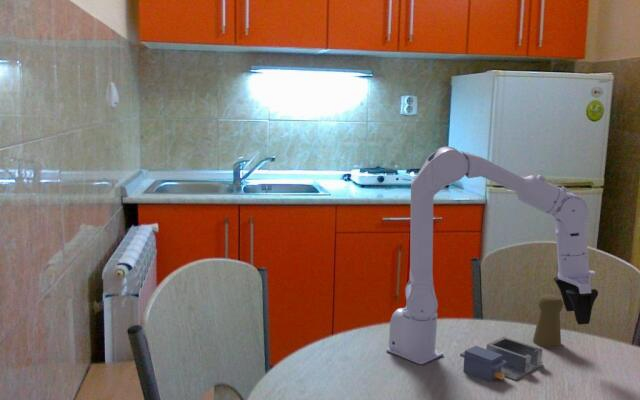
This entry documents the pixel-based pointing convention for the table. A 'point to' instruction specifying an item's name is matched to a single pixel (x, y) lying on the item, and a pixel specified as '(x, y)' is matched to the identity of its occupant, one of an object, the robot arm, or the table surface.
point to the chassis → (516, 357)
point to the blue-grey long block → (483, 363)
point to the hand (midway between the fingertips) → (577, 316)
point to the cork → (548, 322)
